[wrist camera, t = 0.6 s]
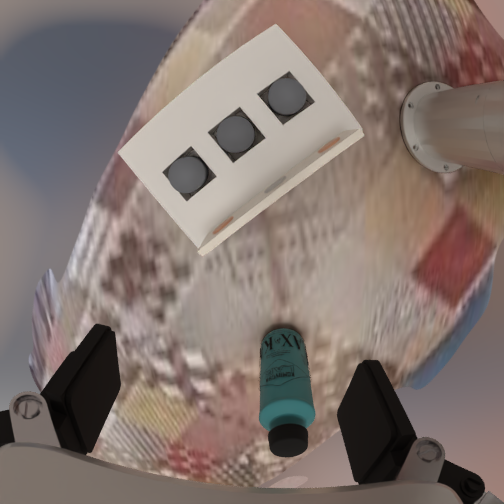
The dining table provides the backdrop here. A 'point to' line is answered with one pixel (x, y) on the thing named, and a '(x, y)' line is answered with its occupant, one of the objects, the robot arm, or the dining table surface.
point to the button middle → (235, 134)
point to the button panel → (255, 160)
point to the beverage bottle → (285, 392)
